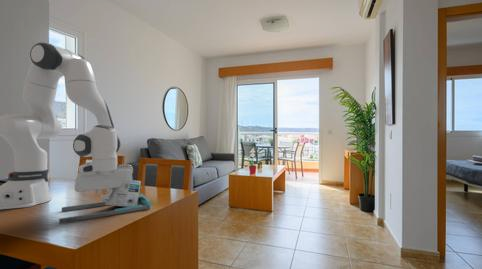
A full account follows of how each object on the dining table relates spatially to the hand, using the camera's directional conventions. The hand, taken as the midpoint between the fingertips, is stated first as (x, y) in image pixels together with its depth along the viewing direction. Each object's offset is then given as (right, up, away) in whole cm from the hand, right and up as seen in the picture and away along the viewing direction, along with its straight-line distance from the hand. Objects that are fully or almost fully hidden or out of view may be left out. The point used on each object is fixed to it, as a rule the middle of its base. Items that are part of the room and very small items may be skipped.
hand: (105, 200), depth 96 cm
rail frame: (+1, -4, +1) cm, 5 cm away
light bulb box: (+5, -3, +3) cm, 7 cm away
